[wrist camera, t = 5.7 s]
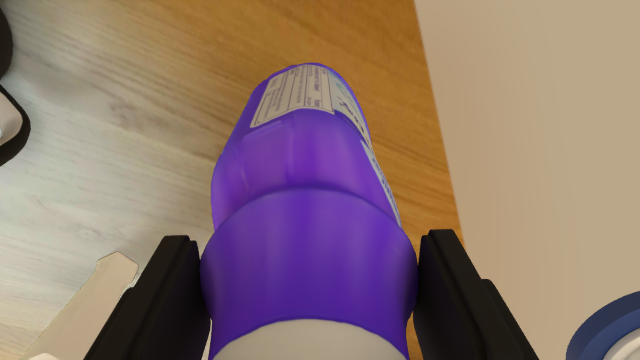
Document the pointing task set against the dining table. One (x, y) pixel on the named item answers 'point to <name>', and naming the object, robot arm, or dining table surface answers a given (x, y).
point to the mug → (10, 104)
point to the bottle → (305, 231)
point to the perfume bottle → (85, 312)
